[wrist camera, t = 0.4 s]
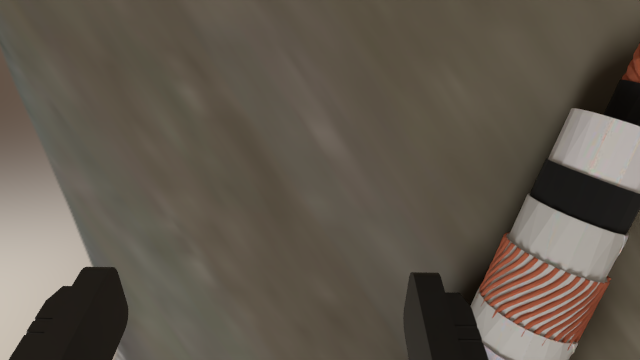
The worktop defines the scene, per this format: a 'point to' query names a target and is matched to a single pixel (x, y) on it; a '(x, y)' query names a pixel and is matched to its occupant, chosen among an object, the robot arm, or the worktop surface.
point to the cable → (566, 234)
